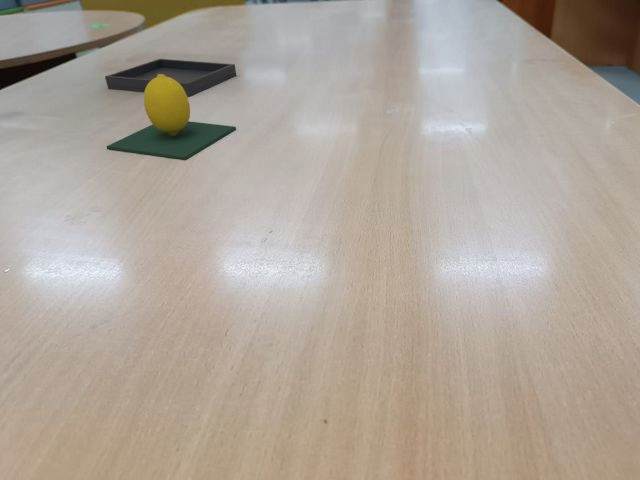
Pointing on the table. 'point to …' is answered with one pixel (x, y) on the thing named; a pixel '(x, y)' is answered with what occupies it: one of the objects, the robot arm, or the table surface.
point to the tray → (173, 75)
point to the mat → (172, 140)
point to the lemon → (166, 104)
